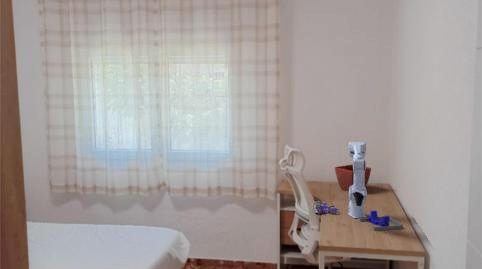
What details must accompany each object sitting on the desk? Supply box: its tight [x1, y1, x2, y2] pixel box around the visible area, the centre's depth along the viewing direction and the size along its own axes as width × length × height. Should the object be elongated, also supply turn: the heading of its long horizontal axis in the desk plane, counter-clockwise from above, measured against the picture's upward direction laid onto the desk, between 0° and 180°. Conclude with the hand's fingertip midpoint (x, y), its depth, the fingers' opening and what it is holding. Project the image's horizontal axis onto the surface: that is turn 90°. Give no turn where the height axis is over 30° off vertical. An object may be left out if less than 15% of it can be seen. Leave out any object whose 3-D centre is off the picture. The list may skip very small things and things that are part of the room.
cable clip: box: [367, 210, 390, 227], centre depth 222 cm, size 12×4×6 cm, turn 18°
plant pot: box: [334, 164, 372, 192], centre depth 302 cm, size 19×19×17 cm
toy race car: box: [314, 200, 340, 215], centre depth 247 cm, size 10×15×6 cm, turn 80°
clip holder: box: [359, 216, 404, 231], centre depth 222 cm, size 17×16×2 cm
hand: (358, 205), depth 222 cm, fingers closed
